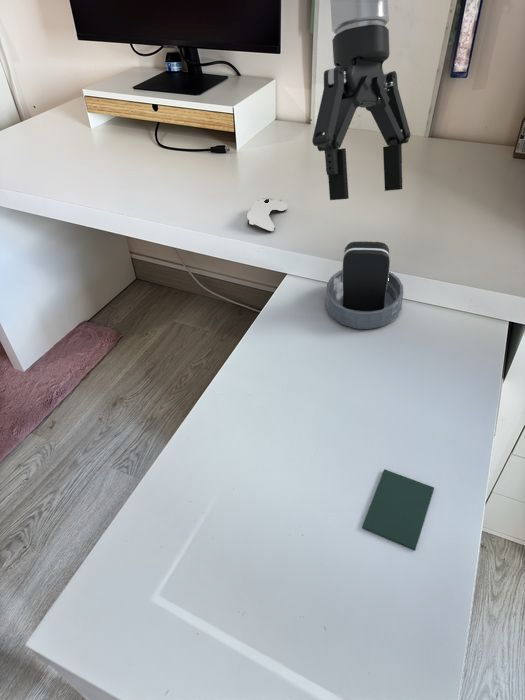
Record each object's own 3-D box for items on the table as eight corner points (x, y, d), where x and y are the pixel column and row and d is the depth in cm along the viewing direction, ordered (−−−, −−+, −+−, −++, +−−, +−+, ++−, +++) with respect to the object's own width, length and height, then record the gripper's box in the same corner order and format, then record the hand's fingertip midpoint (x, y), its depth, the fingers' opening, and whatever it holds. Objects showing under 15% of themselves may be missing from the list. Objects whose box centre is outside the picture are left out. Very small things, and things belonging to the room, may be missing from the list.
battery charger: (385, 296, 83) (391, 237, 75) (385, 312, 81) (391, 253, 72) (342, 295, 84) (344, 237, 76) (341, 310, 82) (342, 251, 74)
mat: (433, 489, 59) (434, 487, 59) (415, 550, 55) (415, 549, 54) (384, 470, 62) (384, 469, 61) (361, 528, 57) (362, 526, 57)
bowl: (410, 291, 84) (412, 274, 81) (387, 338, 77) (389, 321, 74) (342, 275, 88) (342, 259, 86) (315, 319, 81) (314, 302, 79)
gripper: (388, 46, 78) (392, 188, 85) (275, 29, 63) (291, 205, 69) (432, 31, 73) (434, 184, 80) (321, 9, 57) (334, 202, 64)
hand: (367, 194), depth 75 cm, fingers open, 13 cm apart
